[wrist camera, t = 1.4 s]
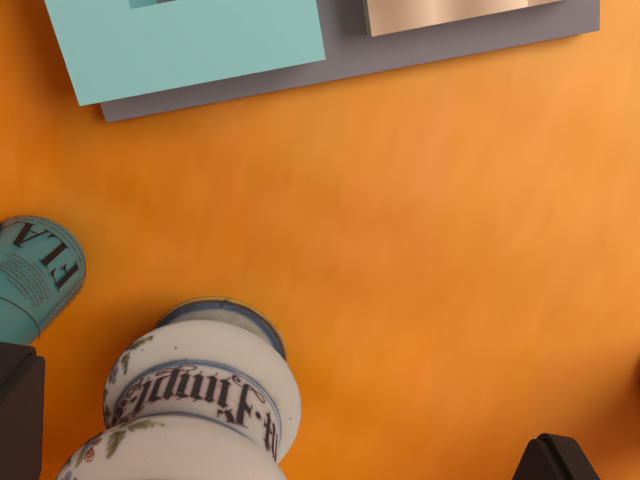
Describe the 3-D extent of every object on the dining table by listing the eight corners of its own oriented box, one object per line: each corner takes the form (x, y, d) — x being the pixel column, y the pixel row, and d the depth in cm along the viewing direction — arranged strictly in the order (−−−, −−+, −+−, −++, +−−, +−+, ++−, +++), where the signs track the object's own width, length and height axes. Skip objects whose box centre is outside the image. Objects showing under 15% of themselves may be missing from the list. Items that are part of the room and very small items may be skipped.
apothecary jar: (293, 432, 42) (280, 704, 25) (133, 417, 41) (10, 687, 25) (312, 290, 38) (310, 507, 21) (133, 271, 37) (-17, 479, 20)
